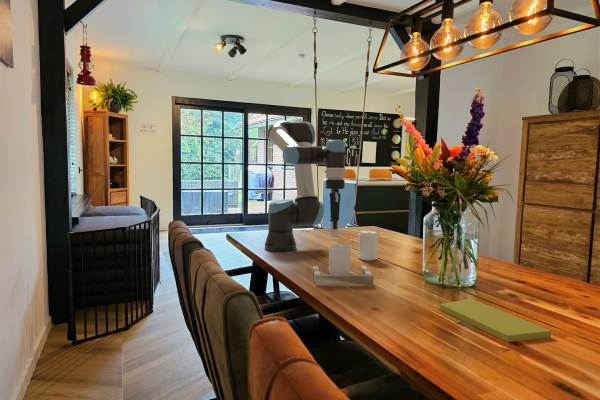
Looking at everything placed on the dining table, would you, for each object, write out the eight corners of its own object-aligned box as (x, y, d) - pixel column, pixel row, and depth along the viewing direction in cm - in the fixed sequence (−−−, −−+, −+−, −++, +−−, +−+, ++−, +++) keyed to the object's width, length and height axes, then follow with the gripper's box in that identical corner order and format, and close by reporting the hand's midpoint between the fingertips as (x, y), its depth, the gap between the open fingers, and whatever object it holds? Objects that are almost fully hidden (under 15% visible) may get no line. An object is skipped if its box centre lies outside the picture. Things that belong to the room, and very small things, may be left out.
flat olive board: (439, 311, 111) (516, 348, 89) (440, 304, 111) (517, 339, 89) (470, 305, 116) (550, 339, 94) (471, 298, 115) (551, 330, 94)
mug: (321, 268, 152) (321, 242, 151) (340, 267, 154) (341, 241, 153) (334, 277, 140) (334, 249, 139) (354, 275, 143) (355, 248, 142)
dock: (312, 275, 143) (312, 265, 143) (365, 275, 144) (365, 265, 144) (315, 286, 130) (315, 276, 130) (373, 286, 131) (373, 276, 131)
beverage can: (356, 260, 166) (357, 232, 165) (360, 255, 173) (361, 229, 172) (375, 262, 163) (376, 234, 162) (378, 257, 170) (379, 230, 169)
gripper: (324, 178, 162) (323, 234, 164) (327, 179, 149) (327, 239, 151) (342, 178, 163) (341, 234, 165) (347, 179, 150) (346, 239, 152)
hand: (334, 236), depth 158 cm, fingers closed
